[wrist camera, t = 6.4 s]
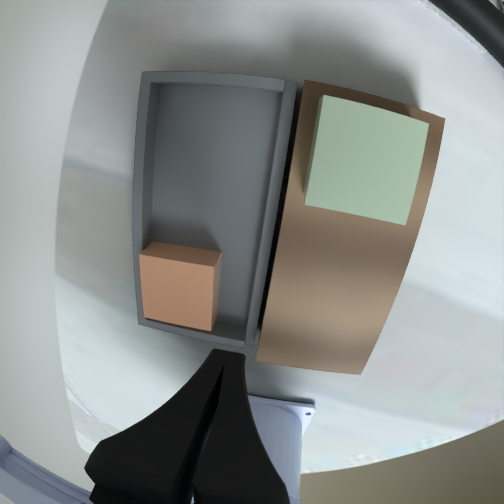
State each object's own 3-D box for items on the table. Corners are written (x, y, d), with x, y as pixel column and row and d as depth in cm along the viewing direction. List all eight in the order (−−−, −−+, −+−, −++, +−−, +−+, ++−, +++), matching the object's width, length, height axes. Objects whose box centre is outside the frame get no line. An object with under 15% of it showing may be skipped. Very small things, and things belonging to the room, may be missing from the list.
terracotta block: (144, 317, 19) (155, 300, 21) (210, 331, 19) (217, 312, 20) (139, 254, 17) (152, 241, 19) (214, 266, 17) (221, 252, 19)
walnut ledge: (354, 345, 21) (360, 374, 18) (260, 331, 21) (255, 360, 19) (422, 117, 14) (445, 118, 12) (302, 87, 15) (304, 79, 12)
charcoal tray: (255, 331, 21) (252, 349, 20) (149, 308, 22) (138, 324, 20) (297, 86, 15) (297, 81, 13) (157, 75, 15) (142, 71, 13)
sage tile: (392, 211, 14) (405, 225, 12) (303, 193, 14) (304, 204, 12) (411, 122, 12) (428, 123, 10) (319, 98, 12) (323, 94, 10)
